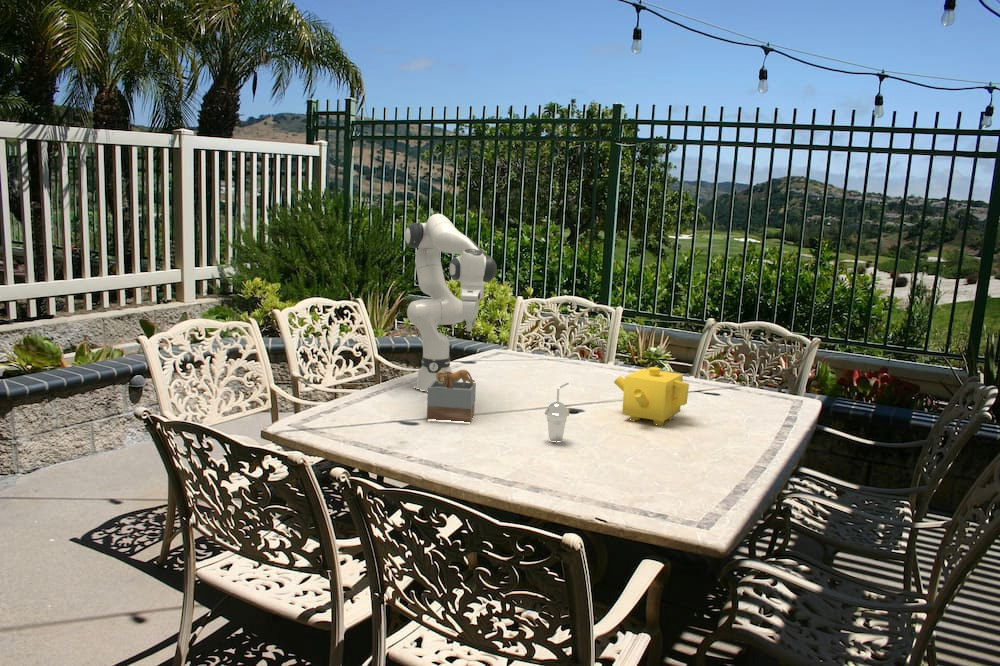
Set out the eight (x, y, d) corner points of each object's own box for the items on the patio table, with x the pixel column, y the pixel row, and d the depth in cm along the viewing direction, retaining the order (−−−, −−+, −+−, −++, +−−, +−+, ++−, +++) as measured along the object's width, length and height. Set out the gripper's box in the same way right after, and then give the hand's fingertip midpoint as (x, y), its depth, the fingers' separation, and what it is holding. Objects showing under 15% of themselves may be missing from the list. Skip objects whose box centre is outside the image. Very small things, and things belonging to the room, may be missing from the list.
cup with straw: (539, 438, 281) (542, 382, 278) (562, 436, 284) (565, 381, 281) (549, 445, 273) (552, 388, 270) (573, 443, 276) (576, 386, 273)
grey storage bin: (433, 398, 308) (434, 380, 307) (475, 401, 306) (475, 383, 305) (427, 406, 296) (427, 387, 295) (470, 409, 294) (471, 390, 293)
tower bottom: (432, 413, 308) (432, 398, 307) (474, 416, 307) (474, 401, 306) (426, 422, 297) (427, 406, 296) (470, 425, 295) (470, 409, 294)
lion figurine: (443, 397, 294) (438, 374, 291) (437, 393, 298) (432, 371, 295) (478, 384, 300) (474, 361, 297) (471, 380, 305) (467, 358, 302)
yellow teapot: (629, 403, 335) (632, 355, 331) (698, 415, 320) (702, 365, 317) (594, 421, 305) (597, 369, 302) (668, 435, 290) (673, 380, 287)
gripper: (466, 289, 315) (465, 324, 317) (460, 295, 295) (458, 333, 297) (483, 289, 314) (481, 325, 317) (477, 296, 294) (476, 334, 297)
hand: (470, 329), depth 307 cm, fingers open, 8 cm apart
